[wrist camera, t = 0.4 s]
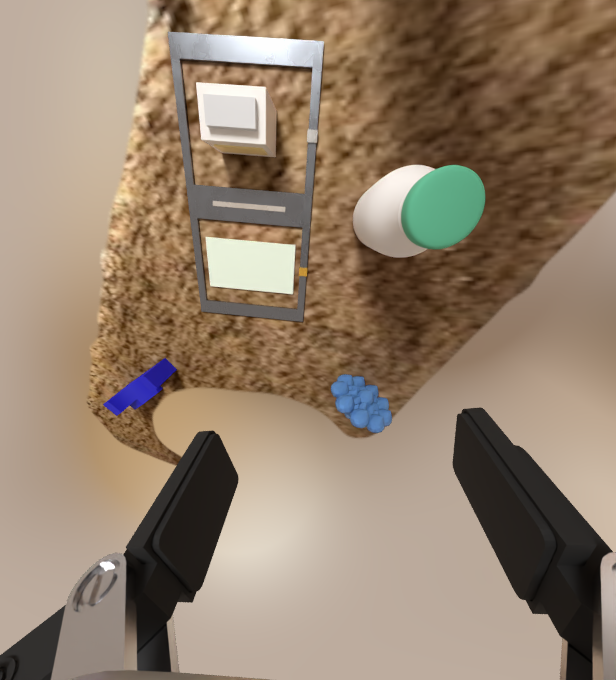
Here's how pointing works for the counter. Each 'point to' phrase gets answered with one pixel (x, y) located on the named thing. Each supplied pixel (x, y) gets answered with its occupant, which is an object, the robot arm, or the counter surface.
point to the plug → (237, 119)
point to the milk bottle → (419, 209)
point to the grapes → (361, 403)
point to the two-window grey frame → (246, 201)
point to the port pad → (251, 265)
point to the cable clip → (141, 388)
